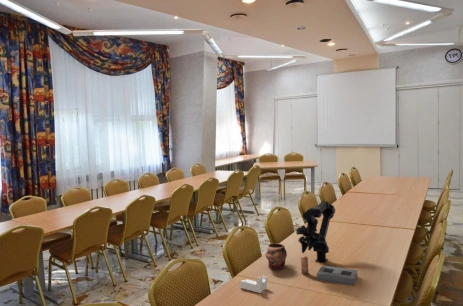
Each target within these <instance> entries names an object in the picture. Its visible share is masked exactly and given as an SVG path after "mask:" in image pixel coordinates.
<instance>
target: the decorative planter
mask: <svg viewBox="0 0 463 306" xmlns="http://www.w3.org/2000/svg"><path fill="white" fill-rule="evenodd" d="M287 253H288V252H287V250H286V247H285V245H284V244H281V243H276V242H275V243H270V244H268V245H267V251H266V252H265V258H266V259H267V261H268V268H269V269H270V270H274V271H279V270H280V271H281V270H283V269H284V268H285V267H286V266H285V265H286V259H287V256H288V254H287Z"/></svg>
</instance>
